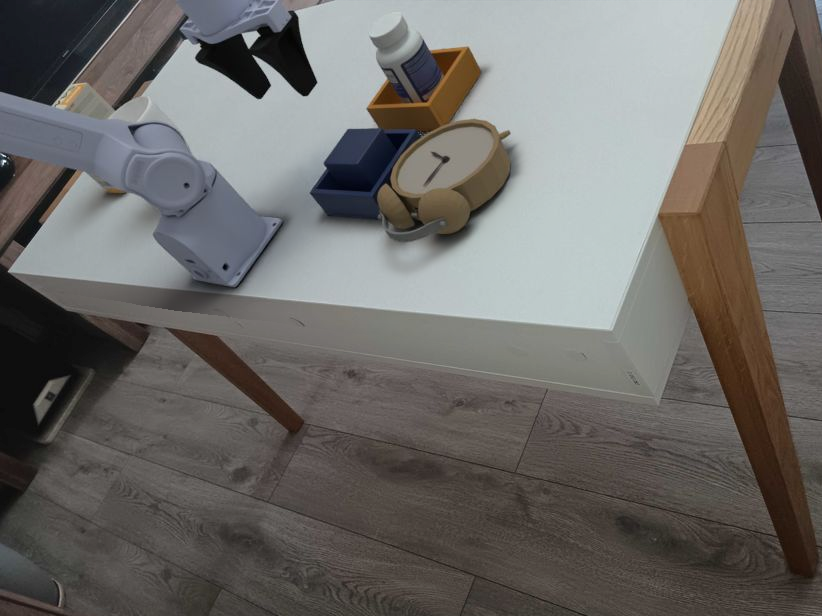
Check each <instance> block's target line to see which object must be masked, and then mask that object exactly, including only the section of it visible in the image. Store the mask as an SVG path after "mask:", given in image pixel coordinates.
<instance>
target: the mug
mask: <svg viewBox="0 0 822 616" xmlns="http://www.w3.org/2000/svg"><path fill="white" fill-rule="evenodd" d="M108 119H121V120H124V121H128V122H135V123H137V122H145V121H161V122H164V123H167V124H169V125H171V126H173V127H174V128H175V129H176V130H178V131H179V133H180V134H181V135H182V137H183V138H184V141H185V143H186V145H187V147H188V148H189V150H190V152H191V153H192V151H191V148H190V147H189V144H188V142H187V140H186V137H185V136H184V134H183V133H182V131H181V130H180V129H179V127H178V126H177V125H176V124H175V123H174V121H173V120H172V119H171V118H170V117H169V115H167V114H166V112H164V111H163V109H161V107H160V106H159V105H158V104H157V103H156V102H155V101H154V100H153V99H152V98H150V97H149V96H147V95H142V96H138V97H135V98H133V99H131V100H128V101H127V102H125V103H124V104H123V105H122V106H120V107H119V108H117V109H116V110H115V112H114V113H113V114H112V115H111V116H110V117H109V118H108Z"/></svg>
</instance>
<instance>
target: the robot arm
mask: <svg viewBox="0 0 822 616" xmlns="http://www.w3.org/2000/svg"><path fill="white" fill-rule="evenodd" d="M173 1H174V2H175V3H176V4H177V6H179V8H180V9H181V10H182V12H184V14H185V15H186V16H187V18H188V19H187V20H186V21H185V22H184V23H183V24H182V26H181V27H180V28H179V31H180V32H181V33H182V34H183V36H184V37H185V38H186V39H187V40H188V41H189V42H190V44H191V45H193V46H194V45H199V48H200V49H199V51H198V52H196V54H195V56H194V59H195V61H196V62H197V63H198V64H199V65H202V66H205V67H207V68H210V69H212V70H214V71H216V72H218V73H219V74H221V75H223V76H225V77H226V78H228V79H229V80H231V81H232V82H233V83H235V84H236V85H237V86H238V87H240V88H241V89H242V90H244V91H245V92H247V93H248V94H249V95H251V96H252V97H254V98H255V99H256V100H262V99H263V98H264V97H265V95H266V93H267V92H268V90H270V88H271V87H272V84H271V81H270V80H269V77H268V76H267V75H266V73H265V71H264V70H263V68H262V67H261V66H260V65H259V62H258V61H257V60H256V59H255V58H257V59H259V60H260V61H262V62H263V63H265V64H267V65H268V66H270V67H271V68H272V69H273V70H274V71H276V72H277V73H278V74H279V75H280V76H281V77H282V78H283V80H285V81H286V82H287V84H288V85H289V86H290V87H291V88H292V89H293V90H294V91H295V92H296V93H298V94H299V95H300V96H302V97H308V96H310V94H311V93H312V91H313V90H314V89H315V87H316V86H317V84H318V80H317V77H316V75H315V72H314V70H313V68H312V65H311V63H310V61H309V58H308V56H307V53H306V50H305V47H304V43H303V39H302V34H301V29H300V20H299V19H300V18H299V16H298V14H297V13H296V11H295V10H293V9H292V10H291V9H290V10H287V8H286V7H285V6H284V4H283V2H282V1H281V0H173ZM254 32H257V34H258V35H259V36H257V38H256V39H255V40H254V42H253V43H252V44H251V46H250V47H249V46H248V45H247V42H246V40H245V38H244V36H243V34H246V33H254ZM182 135H183V134H182ZM182 135H181V134H180V133H179V131H178V130H176V129H175V128H174V127H173V126H171V125H169V124H167V123H164V122H161V121H145V122H137V123H135V122H128V121H124V120H121V119H107V120H98V119H95V118H91V117H88V116H84V115H81V114H77V113H73V112H70V111H66V110H63V109H59V108H56V107H52V105H49V104H45V103H42V102H38V101H34V100H32V99H28V98H24V97H20V96H17V95H14V94H9V93H6V92H3V91H0V153H4V154H9V155H13V156H17V157H21V158H26V159H29V160H33V161H37V162H42V163H45V164H50V165H55V166H59V167H62V168H67V169H70V170H75V171H80V172H83V173H86V172H87V173H91V174H94V175H96V176H98V177H100V178H101V179H103V180H105V181H106V182H108V183H109V184H111V185H112V186H114V187H116V188H117V189H119V190H121V191H124V192H125V193H128V194H132V195H136V196H137V197H140V198H141V199H143V200H144V201H146V203H148V204H150V205H151V207H154V208H155V209H157V211H158V212H159V213H160V215H159V219H158V222H157V225H156V227H155V229H154V230H153V231H152V236H153V238H154V240H155V241H156V243H157V244H158V245H159V246H160V247H161V248H162V249H163V250H164V251H165V252H166V253H168V254H169V255H170V256H171V258H173V259H175V261H176V262H177V263H179V264H180V265H181V266H182V267H183V268H184V269H186V270H187V272H189V273H190V274H191V275H192V278H193V280H195V281H199V282H203V283H210V284H215V285H219V286H225V287H230V288H236V287H237V286H239V284H240V282H241V281H242V280H243V278H244V277H245V276H246V275H247V273H248V272H249V270H250V269H251V267H252V266H253V265H254V263H255V262H256V260H257V259H258V258H259V256H260V254H261V253H262V252H263V251H264V249H265V248H266V246H267V245H268V244H269V242H270V241H271V240H272V238H273V237H274V235H275V234H276V233H277V231H278V230H279V228H280V227H281V225H282V224H283V220H282V218H280V217H272V216H262V215H259V214H258V213H257V212H256V211H255V210H254V209H253V208H252V207H251V205H250V204H249V203H248V202H247V201H246V200H245V198H243V197H242V196H241V194H240V193H239V192H238V191H237V190H236V189H235V188H234V186H232V185H231V184H230V183H229V181H228V180H227V179H226V178H225V177H224V176H223V175H222V174H221V173H220V172H219V171H218V169H216V168H215V166H214V165H213V164H212V163H211V162H208V161H204V160H200V159H197V157H196V156H194V154H193V153H192V151H191V149H190V150H189V148H190V147H189V148H188V147H187V145H186V143H185V141H184V138H185V137H184V138H183V137H182ZM190 151H191V152H190ZM87 173H86V174H87Z"/></svg>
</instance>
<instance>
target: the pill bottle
mask: <svg viewBox="0 0 822 616" xmlns="http://www.w3.org/2000/svg"><path fill="white" fill-rule="evenodd" d="M368 37H369V39H370V41H371V42H372V45H373V46H375V48H377V49H376V51H375V59H376V62H377V64H378V66H379V68H380V69H381V70H382V73H383V74H384V75H385V78H386V80H387V79H388V80H389V82H390V83H391V85H392V86H393V88H394V90H395V91H396V93H397V94H398V96H399V98H400V99H401V101H402V102H403V104H405V103H427V102H428V100H429V99H430V97H431V96H432V94H433V93H434V91H435V90H436V88H437V87H438V85H439V84H440V82H441V81H442V79H443V78H444V75H443V73H442V72H441V70H440V68H439V66H438V65H437V63H436V61H435V59H434V57H433V56H432V54H431V52H430V50H431V49H430V48H429V46H428V45H427V43H426V41H425V39H424V38H423V36H422V34H421V32H420V31H418V30H417V29H416V28H412V27H409V25H408V22H407V20H406V19H405V18H404V16H403V14H402V13H401V12H399V11H393V12H389V13H387V14H385V15H383V16H382V17H379V18H378V19H377V20H376V21H375V22H374V23H373V24H372V25H371V26H370V28H369V29H368Z"/></svg>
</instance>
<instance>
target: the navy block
mask: <svg viewBox="0 0 822 616" xmlns="http://www.w3.org/2000/svg"><path fill="white" fill-rule="evenodd" d="M396 153H397V150H396V149H395V147H394V146H393V144H392V143H391V141H390V140H389V138H388V137H387V135H386V134H385V132H384V131H383V129H382V128H379V127H377V128H376V127H375V128H371V127H369V128H347V129H346V130H345V132H344V133H343V135H342V136H341V138H340V139H339V140H338V142H337V143H336V145H335V146H334V147H333V149H332V150H331V151H330V153H329V154H328V156H326V158H325V160H324V162H323V163H322V164H323V166H324V167H325V168H327V169H328V171H329V172H330V173H331V174H332V176H333V177H334V178H335V180H336V181H337V182H338V183H339V185H340V186H341V187H342V189H343V190H344V191H360V192H371V190H372V189H373V187H374V186H375V184H376V183H377V181H378V180H379V178H380V177H381V175H382V174H383V172H384V171H385V169H386V168H387V166H388V165H389V163H390V162H391V160H392V159H393V157H394V156H395V154H396Z"/></svg>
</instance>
